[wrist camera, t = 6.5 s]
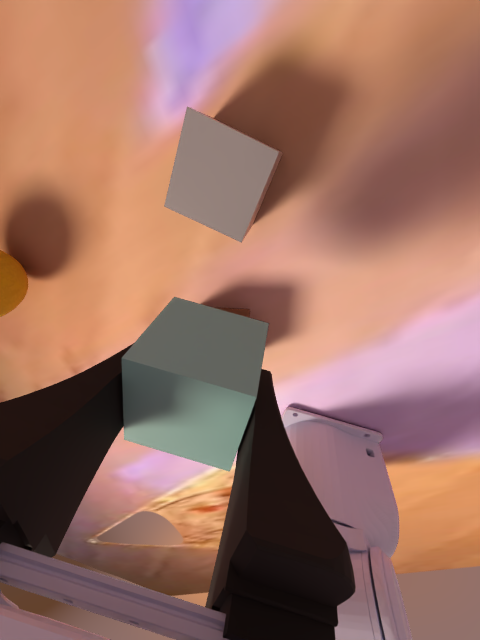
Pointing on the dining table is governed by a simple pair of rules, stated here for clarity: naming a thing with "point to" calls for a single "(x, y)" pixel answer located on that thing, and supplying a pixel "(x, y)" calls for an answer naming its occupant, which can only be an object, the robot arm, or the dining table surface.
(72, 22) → the dining table surface
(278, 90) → the dining table surface
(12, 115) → the dining table surface
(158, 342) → the teal block
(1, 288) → the lemon
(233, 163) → the grey block
